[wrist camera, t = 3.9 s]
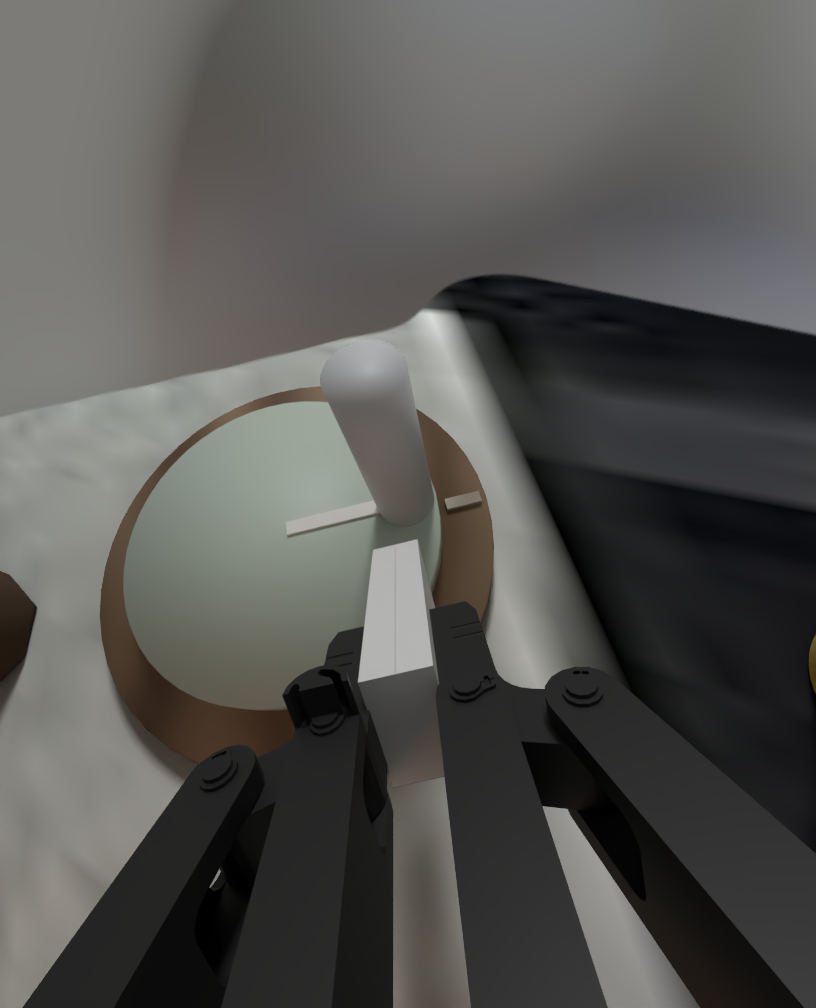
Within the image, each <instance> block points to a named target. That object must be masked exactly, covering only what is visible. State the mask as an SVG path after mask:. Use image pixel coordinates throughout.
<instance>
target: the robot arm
mask: <svg viewBox="0 0 816 1008" xmlns="http://www.w3.org/2000/svg"><path fill="white" fill-rule="evenodd" d="M282 697H283V699H284V702H285V704H286V707H287V709H288V712H289V714H290V717H291V719H292V722H293V724H294V727H295V732H294V735H293V739H292V740H290V741H289V742H287V743H285V744H284V745H282V746H280V747H278V748H276V749H274V750H272V751H270V752H268V753H266V754H264V755H261V756H259V757H256V755H255V753H254V752H253V751H252V750H251V748H250V747H249V746H243V745H234V746H229V747H226V748H223V749H221V750H219V751H217V752H215V753H213V754H212V755H210V756H209V757H208V758H206V759H205V760H204V761H202V762H201V763H200V764H199V765H198V766H197V767H196V768H195V770H194V771H193V772H192V773H191V774H190V775H189V777H188V778H187V779H186V781H185V782H184V784H183V785H182V786H181V788H180V789H179V791H178V792H177V793H176V795H175V796H174V798H173V799H172V800H171V802H170V803H169V805H168V806H167V807H166V809H165V810H164V811H163V813H162V814H161V816H160V817H159V818H158V820H157V821H156V823H155V824H154V825H153V827H152V828H151V830H150V831H149V832H148V834H147V835H146V837H145V838H144V839H143V841H142V842H141V843H140V845H139V846H138V848H137V849H136V850H135V852H134V853H133V855H132V856H131V857H130V859H129V860H128V862H127V863H126V864H125V866H124V867H123V869H122V870H121V871H120V873H119V874H118V875H117V877H116V878H115V880H114V881H113V882H112V884H111V885H110V887H109V888H108V889H107V891H106V892H105V894H104V895H103V896H102V898H101V899H100V901H99V902H98V903H97V905H96V906H95V907H94V909H93V910H92V912H91V913H90V914H89V916H88V917H87V919H86V920H85V921H84V923H83V924H82V926H81V927H80V928H79V930H78V931H77V933H76V934H75V935H74V937H73V938H72V939H71V941H70V942H69V944H68V945H67V946H66V948H65V949H64V951H63V952H62V953H61V955H60V956H59V958H58V959H57V960H56V962H55V963H54V965H53V966H52V967H51V969H50V970H49V971H48V973H47V974H46V976H45V977H44V978H43V980H42V981H41V983H40V984H39V985H38V987H37V988H36V990H35V991H34V992H33V994H32V995H31V997H30V998H29V999H28V1001H27V1002H26V1003H25V1005H24V1006H23V1008H393V809H392V804H391V800H390V797H389V794H388V792H387V771H388V774H389V777H390V780H391V783H392V786H393V788H394V787H398V786H403V785H407V784H412V783H417V782H421V781H426V780H431V779H435V778H440V777H445V784H446V793H447V801H448V810H449V819H450V827H451V836H452V845H453V853H454V862H455V871H456V879H457V888H458V897H459V905H460V914H461V923H462V931H463V940H464V949H465V958H466V966H467V975H468V984H469V992H470V1001H471V1008H608V1007H607V1004H606V1001H605V998H604V995H603V992H602V989H601V986H600V983H599V980H598V977H597V974H596V970H595V967H594V964H593V961H592V958H591V955H590V952H589V949H588V946H587V943H586V940H585V937H584V934H583V930H582V927H581V924H580V921H579V918H578V915H577V912H576V909H575V906H574V903H573V900H572V897H571V894H570V890H569V887H568V884H567V881H566V878H565V875H564V872H563V869H562V866H561V863H560V860H559V857H558V854H557V850H556V847H555V844H554V841H553V838H552V835H551V832H550V829H549V826H548V823H547V820H546V817H545V814H544V810H543V807H542V806H548V807H556V808H565V809H568V811H569V813H570V815H571V817H572V818H573V820H574V821H575V823H576V824H577V826H578V827H579V829H580V830H581V832H582V833H583V835H584V836H585V837H586V839H587V840H588V842H589V843H590V845H591V846H592V848H593V849H594V851H595V852H596V854H597V855H598V857H599V858H600V860H601V861H602V863H603V864H604V866H605V867H606V869H607V870H608V872H609V873H610V875H611V876H612V877H613V879H614V880H615V882H616V883H617V885H618V886H619V888H620V889H621V891H622V892H623V894H624V895H625V897H626V898H627V900H628V901H629V903H630V904H631V906H632V907H633V909H634V910H635V912H636V913H637V915H638V916H639V917H640V919H641V920H642V922H643V923H644V925H645V926H646V928H647V929H648V931H649V932H650V934H651V935H652V937H653V938H654V940H655V941H656V943H657V944H658V946H659V947H660V949H661V950H662V952H663V953H664V955H665V956H666V957H667V959H668V960H669V962H670V963H671V965H672V966H673V968H674V969H675V971H676V972H677V974H678V975H679V977H680V978H681V980H682V981H683V983H684V984H685V986H686V987H687V989H688V990H689V992H690V993H691V995H692V996H693V997H694V999H695V1000H696V1002H697V1003H698V1005H699V1006H700V1008H816V854H815V853H814V852H813V851H812V850H811V849H810V848H809V847H807V846H806V845H805V844H804V843H803V842H802V841H801V840H799V839H798V838H797V837H796V836H795V835H794V834H792V833H791V832H790V831H789V830H788V829H787V828H786V827H784V826H783V825H782V824H781V823H780V822H779V821H778V820H776V819H775V818H774V817H773V816H772V815H771V814H770V813H768V812H767V811H766V810H765V809H764V808H763V807H762V806H760V805H759V804H758V803H757V802H756V801H755V800H754V799H752V798H751V797H750V796H749V795H748V794H747V793H746V792H744V791H743V790H742V789H741V788H740V787H739V786H738V785H736V784H735V783H734V782H733V781H732V780H731V779H729V778H728V777H727V776H726V775H725V774H724V773H723V772H721V771H720V770H719V769H718V768H717V767H716V766H715V765H713V764H712V763H711V762H710V761H709V760H708V759H707V758H705V757H704V756H703V755H702V754H701V753H700V752H699V751H697V750H696V749H695V748H694V747H693V746H692V745H691V744H689V743H688V742H687V741H686V740H685V739H684V738H683V737H681V736H680V735H679V734H678V733H677V732H676V731H675V730H673V729H672V728H671V727H670V726H669V725H668V724H666V723H665V722H664V721H663V720H662V719H661V718H660V717H658V716H657V715H656V714H655V713H654V712H653V711H652V710H650V709H649V708H648V707H647V706H646V705H645V704H644V703H642V702H641V701H640V700H639V699H638V698H637V697H636V696H634V695H633V694H632V693H631V692H630V691H629V690H628V689H626V688H625V687H624V686H623V685H622V684H621V683H620V682H618V681H617V680H616V679H615V678H614V677H612V676H610V675H609V674H607V673H605V672H604V671H601V670H597V669H593V668H590V667H573V668H569V669H566V670H562V671H560V672H558V673H557V674H555V675H554V676H552V677H551V678H550V680H549V681H548V682H547V684H546V685H545V689H529V688H521V687H518V686H514V685H511V684H510V683H508V682H506V681H504V680H503V679H502V678H501V677H500V676H499V675H498V673H497V671H496V669H495V666H494V663H493V660H492V657H491V654H490V651H489V648H488V645H487V642H486V638H485V635H484V633H483V629H482V626H481V623H480V620H479V617H478V614H477V611H476V609H475V608H474V607H472V606H471V605H470V604H468V603H467V602H466V601H464V602H459V603H455V604H451V605H447V606H442V607H438V608H435V605H434V601H433V597H432V593H431V589H430V586H429V582H428V578H427V574H426V570H425V566H424V563H423V559H422V555H421V551H420V547H419V543H418V540H417V539H416V540H412V541H408V542H404V543H400V544H395V545H391V546H387V547H383V548H379V549H375V550H373V555H372V564H371V572H370V581H369V590H368V598H367V607H366V616H365V625H364V626H363V627H358V628H354V629H350V630H345V631H341V632H338V633H337V635H336V636H335V637H334V639H333V640H332V641H331V643H330V644H329V645H328V650H327V654H326V661H325V663H324V666H319V667H316V668H313V669H310V670H308V671H306V672H304V673H303V674H301V675H299V676H298V677H296V678H295V679H294V680H293V681H292V682H291V683H290V684H289V685H288V686H287V687H286V689H285V691H284V693H283V694H282ZM219 868H220V870H221V873H220V875H219V877H218V878H217V880H216V881H215V883H214V884H213V885H212V887H211V888H209V887H210V885H211V883H212V881H213V879H214V878H215V876H216V874H217V872H218V870H219Z"/></svg>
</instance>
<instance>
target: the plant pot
mask: <svg viewBox="0 0 816 1008" xmlns="http://www.w3.org/2000/svg"><path fill="white" fill-rule="evenodd" d="M809 673H810V678H811V682H812V685H813V689H814V691H815V693H816V635H815V637H814V639H813V641H812V644H811V647H810V652H809Z"/></svg>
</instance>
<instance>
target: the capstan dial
mask: <svg viewBox="0 0 816 1008" xmlns="http://www.w3.org/2000/svg"><path fill="white" fill-rule="evenodd" d="M320 384H321V388H322V390H323V393H324V395H325V397H326V399H327V401H328V402H310V401H303V402H293V403H284V404H279V405H275V406H270V407H266V408H263V409H260V410H256V411H253V412H250V413H248V414H246V415H243V416H241V417H238V418H236V419H234V420H232V421H230V422H228V423H226V424H224V425H223V426H221V427H219V428H217V429H216V430H214V431H213V432H211V433H210V434H208V435H207V436H205V437H204V438H202V439H201V440H200V441H198V442H197V443H196V444H195V445H193V446H192V447H191V448H190V449H188V450H187V451H186V452H185V453H184V454H183V455H182V456H181V457H180V458H179V459H178V460H177V461H176V462H175V463H174V464H173V465H172V466H171V467H170V469H169V470H168V471H167V472H166V473H165V474H164V476H163V477H162V478H161V479H160V481H159V482H158V484H157V485H156V486H155V488H154V489H153V491H152V492H151V494H150V495H149V497H148V499H147V501H146V502H145V504H144V506H143V508H142V510H141V512H140V514H139V516H138V519H137V521H136V523H135V526H134V528H133V531H132V534H131V537H130V541H129V544H128V548H127V552H126V559H125V565H124V579H123V592H124V601H125V609H126V613H127V617H128V620H129V624H130V628H131V630H132V632H133V635H134V637H135V639H136V641H137V644H138V646H139V647H140V649H141V650H142V652H143V653H144V655H145V656H146V658H147V660H148V661H149V662H150V663H151V665H152V666H153V667H154V668H155V669H156V670H157V671H158V672H159V673H160V674H161V675H162V676H163V677H164V678H165V679H167V680H168V681H169V682H171V683H172V684H173V685H175V686H176V687H177V688H178V689H180V690H182V691H184V692H186V693H188V694H190V695H192V696H194V697H196V698H198V699H200V700H203V701H207V702H210V703H213V704H216V705H219V706H226V707H233V708H240V709H248V710H257V711H281V710H287V707H286V704H285V702H284V699H283V697H282V694H283V693H284V691H285V689H286V687H287V686H288V685H289V684H290V683H291V682H292V681H293V680H294V679H295V678H296V677H298V676H299V675H301V674H303V673H304V672H306V671H308V670H310V669H313V668H316V667H319V666H324V663H325V661H326V654H327V650H328V645H329V644H330V643H331V641H332V640H333V639H334V637H335V636H336V635H337V633H338V632H341V631H345V630H350V629H354V628H358V627H363V626H364V625H365V616H366V607H367V598H368V590H369V581H370V572H371V564H372V555H373V550H375V549H379V548H383V547H387V546H391V545H395V544H400V543H404V542H408V541H412V540H416V539H417V540H418V543H419V547H420V551H421V555H422V559H423V563H424V566H425V570H426V574H427V578H428V582H429V586H430V589H431V593H433V590H434V588H435V585H436V581H437V577H438V573H439V569H440V565H441V555H442V545H443V543H442V524H441V518H440V513H439V507H438V502H437V497H436V492H435V489H434V486H433V484H432V481H431V478H430V473H429V469H428V464H427V459H426V454H425V449H424V445H423V440H422V435H421V430H420V425H419V421H418V416H417V411H416V406H415V401H414V397H413V392H412V387H411V382H410V377H409V373H408V368H407V363H406V360H405V357H404V355H403V354H402V352H401V351H400V350H399V349H398V348H397V347H395V346H394V345H392V344H390V343H388V342H385V341H380V340H361V341H357V342H353V343H351V344H348V345H346V346H344V347H342V348H341V349H339V350H338V351H336V352H335V353H334V354H333V355H332V356H331V357H330V358H329V359H328V360H327V362H326V363H325V365H324V367H323V369H322V372H321V377H320Z"/></svg>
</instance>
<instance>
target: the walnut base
mask: <svg viewBox="0 0 816 1008" xmlns="http://www.w3.org/2000/svg"><path fill="white" fill-rule="evenodd" d="M303 401H310V402H328V401H327V399H326V397H325V395H324V393H323V390H322V388H321V387H310V388H300V389H295V390H290V391H285V392H280V393H276V394H273V395H269V396H266V397H263V398H260V399H257V400H254V401H252V402H249V403H247V404H245V405H242V406H240V407H238V408H235V409H234V410H232V411H230V412H228V413H226V414H224V415H222V416H220V417H219V418H217V419H215V420H214V421H212V422H211V423H209V424H208V425H206V426H205V427H203V428H202V429H200V430H199V431H197V432H196V433H195V434H193V435H192V436H191V437H190V438H188V439H187V440H186V441H185V442H184V443H182V444H181V445H180V446H179V447H178V448H177V449H176V450H175V451H174V452H173V453H172V454H170V455H169V456H168V457H167V458H166V459H165V460H164V461H163V462H162V463H161V465H160V466H159V467H158V468H157V469H156V471H155V472H154V473H153V474H152V475H151V476H150V478H149V479H148V480H147V481H146V483H145V484H144V486H143V487H142V489H141V490H140V491H139V493H138V494H137V496H136V497H135V499H134V500H133V502H132V504H131V506H130V507H129V509H128V511H127V513H126V515H125V516H124V518H123V520H122V522H121V524H120V527H119V529H118V532H117V534H116V536H115V539H114V541H113V543H112V547H111V550H110V553H109V557H108V560H107V563H106V567H105V572H104V578H103V584H102V589H101V605H100V622H101V634H102V642H103V647H104V651H105V655H106V660H107V664H108V667H109V669H110V672H111V674H112V677H113V679H114V682H115V684H116V687H117V689H118V691H119V692H120V694H121V696H122V697H123V699H124V701H125V702H126V704H127V706H128V707H129V709H130V710H131V712H132V713H133V714H134V715H135V716H136V717H137V719H138V720H139V721H140V722H141V723H142V724H143V726H144V727H145V728H146V729H147V730H148V731H149V732H150V733H152V734H153V735H154V736H155V737H157V738H158V739H159V740H160V741H161V742H163V743H164V744H165V745H166V746H167V747H169V748H171V749H173V750H174V751H176V752H178V753H180V754H182V755H183V756H185V757H187V758H189V759H190V760H193V761H195V762H198V763H201V762H202V761H204V760H205V759H206V758H208V757H209V756H210V755H212V754H213V753H215V752H217V751H219V750H221V749H223V748H226V747H229V746H234V745H243V746H249V747H250V748H251V750H252V751H253V752H254V753H255V755H256V757H259V756H261V755H264V754H266V753H268V752H270V751H272V750H274V749H276V748H278V747H280V746H282V745H284V744H285V743H287V742H289V741H290V740H292V739H293V735H294V732H295V727H294V724H293V722H292V719H291V717H290V714H289V712H288V709H287V710H281V711H257V710H248V709H240V708H233V707H226V706H219V705H216V704H213V703H210V702H207V701H203V700H200V699H198V698H196V697H194V696H192V695H190V694H188V693H186V692H184V691H182V690H180V689H178V688H177V687H176V686H175V685H173V684H172V683H171V682H169V681H168V680H167V679H165V678H164V677H163V676H162V675H161V674H160V673H159V672H158V671H157V670H156V669H155V668H154V667H153V666H152V665H151V663H150V662H149V661H148V660H147V658H146V656H145V655H144V653H143V652H142V650H141V649H140V647H139V646H138V644H137V641H136V639H135V637H134V635H133V632H132V630H131V628H130V624H129V620H128V617H127V613H126V609H125V601H124V592H123V579H124V565H125V559H126V552H127V548H128V544H129V541H130V537H131V534H132V531H133V528H134V526H135V523H136V521H137V519H138V516H139V514H140V512H141V510H142V508H143V506H144V504H145V502H146V501H147V499H148V497H149V495H150V494H151V492H152V491H153V489H154V488H155V486H156V485H157V484H158V482H159V481H160V479H161V478H162V477H163V476H164V474H165V473H166V472H167V471H168V470H169V469H170V467H171V466H172V465H173V464H174V463H175V462H176V461H177V460H178V459H179V458H180V457H181V456H182V455H183V454H184V453H185V452H186V451H187V450H188V449H190V448H191V447H192V446H193V445H195V444H196V443H197V442H198V441H200V440H201V439H202V438H204V437H205V436H207V435H208V434H210V433H211V432H213V431H214V430H216V429H217V428H219V427H221V426H223V425H224V424H226V423H228V422H230V421H232V420H234V419H236V418H238V417H241V416H243V415H246V414H248V413H250V412H253V411H256V410H260V409H263V408H266V407H270V406H275V405H279V404H284V403H293V402H303ZM416 411H417V416H418V421H419V425H420V430H421V435H422V440H423V445H424V449H425V454H426V459H427V464H428V469H429V473H430V478H431V481H432V484H433V486H434V489H435V492H436V497H437V502H438V507H439V513H440V518H441V524H442V543H443V545H442V555H441V565H440V569H439V573H438V577H437V581H436V585H435V588H434V590H433V593H432V597H433V601H434V605H435V608H438V607H442V606H447V605H451V604H455V603H459V602H464V601H466V602H467V603H468V604H470V605H471V606H472V607H474V608H475V609H476V611H477V614H478V617H479V620H480V623H482V620H483V617H484V614H485V611H486V608H487V603H488V598H489V593H490V588H491V583H492V571H493V552H494V542H493V531H492V520H491V516H490V512H489V507H488V503H487V499H486V495H485V493H484V490H483V488H482V485H481V483H480V480H479V478H478V475H477V473H476V472H475V470H474V468H473V466H472V465H471V463H470V461H469V460H468V458H467V456H466V455H465V453H464V452H463V451H462V450H461V448H460V447H459V446H458V444H457V443H456V442H455V441H454V439H453V438H452V437H451V436H450V435H449V434H448V433H447V432H446V431H444V430H443V429H442V428H441V427H440V426H439V425H438V424H437V423H436V422H434V421H433V420H432V419H430V418H429V417H427V416H426V415H425V414H423V413H422V412H420V411H419V410H417V409H416Z"/></svg>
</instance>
